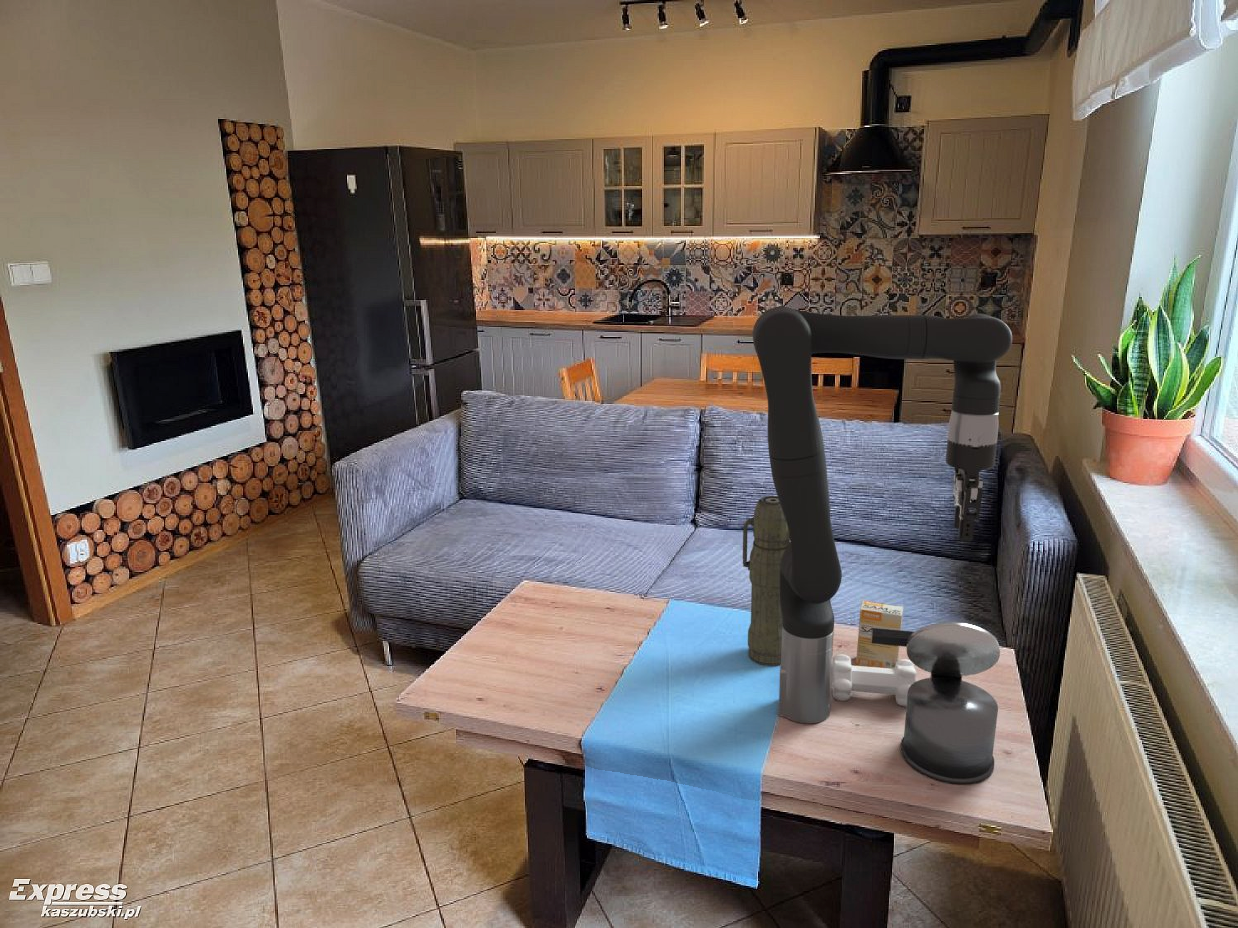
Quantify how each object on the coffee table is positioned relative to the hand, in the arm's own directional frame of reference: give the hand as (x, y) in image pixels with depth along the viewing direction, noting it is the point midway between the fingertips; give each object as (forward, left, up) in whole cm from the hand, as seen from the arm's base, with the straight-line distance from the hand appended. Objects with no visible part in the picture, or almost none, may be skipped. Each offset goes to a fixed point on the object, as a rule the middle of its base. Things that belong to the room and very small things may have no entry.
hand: (962, 533), depth 138 cm
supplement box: (-11, +18, -37) cm, 42 cm away
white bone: (-12, +5, -37) cm, 39 cm away
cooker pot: (-1, -11, -36) cm, 38 cm away
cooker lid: (-4, -7, -19) cm, 21 cm away
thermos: (-33, +17, -37) cm, 52 cm away
